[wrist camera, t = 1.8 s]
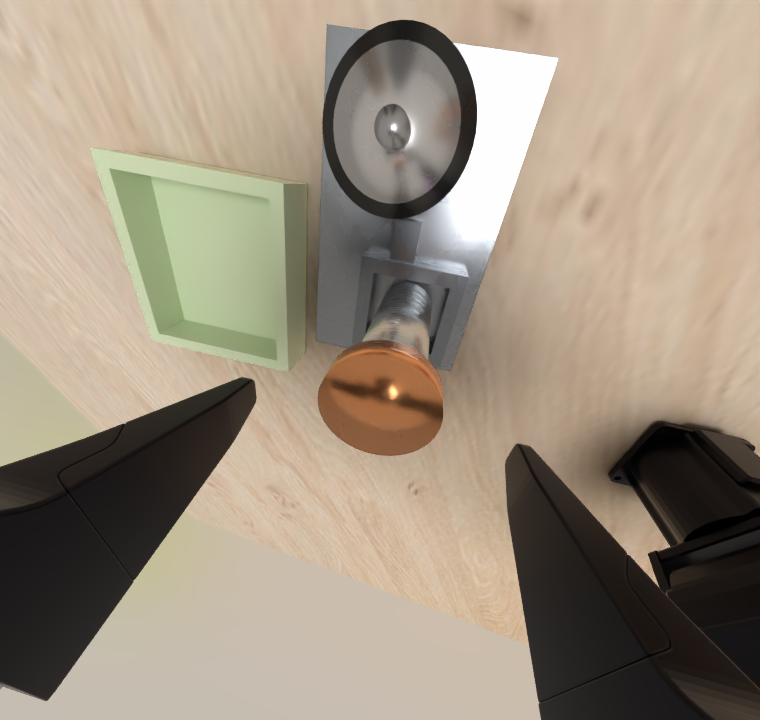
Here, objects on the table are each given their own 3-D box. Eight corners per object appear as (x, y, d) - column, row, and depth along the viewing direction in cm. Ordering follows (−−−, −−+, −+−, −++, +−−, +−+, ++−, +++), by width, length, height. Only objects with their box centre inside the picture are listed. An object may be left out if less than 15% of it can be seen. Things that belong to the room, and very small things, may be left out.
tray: (305, 351, 23) (288, 372, 20) (183, 323, 24) (151, 340, 21) (307, 183, 17) (283, 183, 14) (141, 153, 18) (89, 147, 15)
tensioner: (449, 363, 21) (451, 401, 18) (320, 334, 22) (296, 365, 18) (550, 66, 13) (596, 17, 9) (334, 34, 13) (293, -24, 10)
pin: (431, 343, 20) (425, 467, 11) (369, 330, 20) (315, 439, 11) (449, 280, 17) (459, 375, 9) (378, 266, 18) (320, 344, 9)
